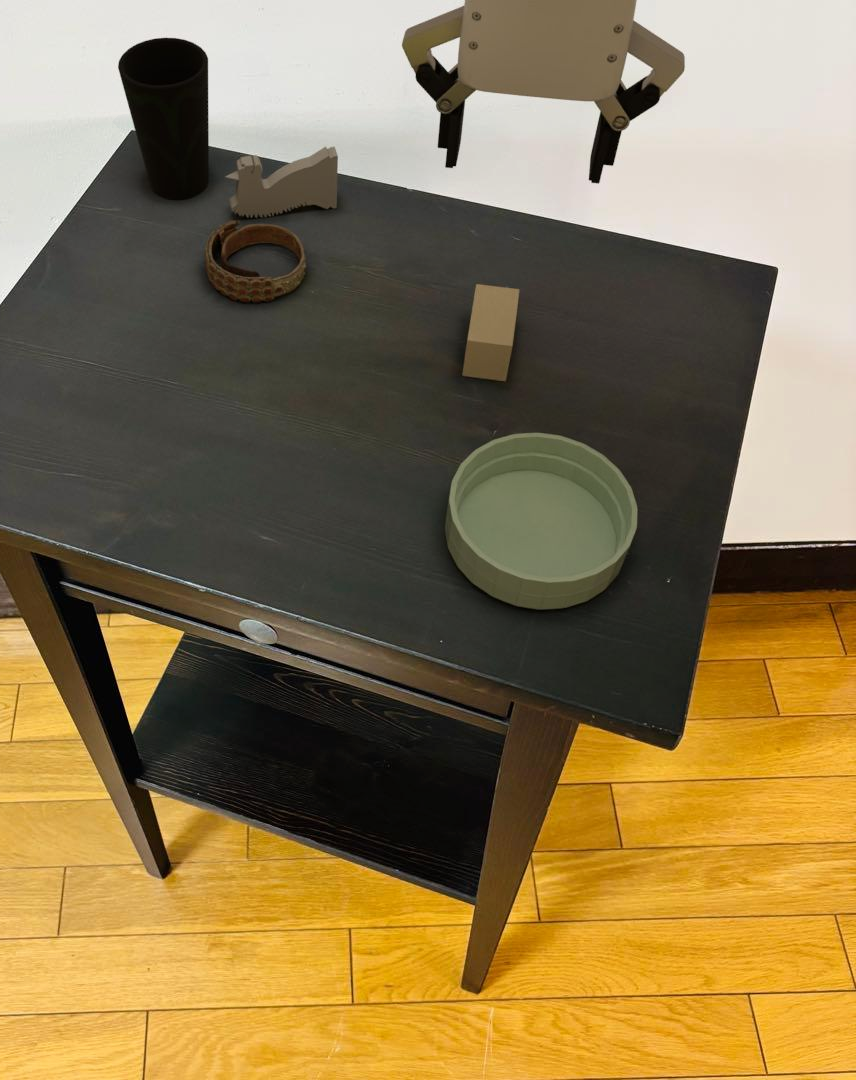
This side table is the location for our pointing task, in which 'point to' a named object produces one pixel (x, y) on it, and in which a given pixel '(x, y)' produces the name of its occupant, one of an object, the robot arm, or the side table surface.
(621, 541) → the bowl
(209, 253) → the bracelet
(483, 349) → the tan rectangular block
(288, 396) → the side table surface
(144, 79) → the cup
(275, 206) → the serrated bird cutout
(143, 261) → the side table surface
